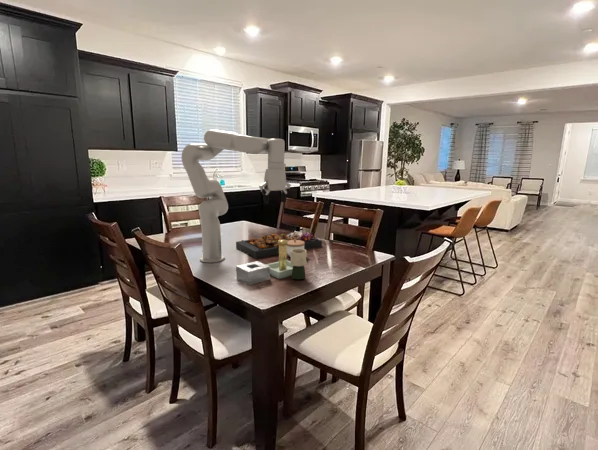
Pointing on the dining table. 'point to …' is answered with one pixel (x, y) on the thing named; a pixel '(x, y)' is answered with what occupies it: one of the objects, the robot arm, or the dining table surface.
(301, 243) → the lidded jar
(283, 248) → the pin
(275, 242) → the food platter
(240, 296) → the dining table surface
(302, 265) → the character mug
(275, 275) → the tray
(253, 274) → the white square-hole block
